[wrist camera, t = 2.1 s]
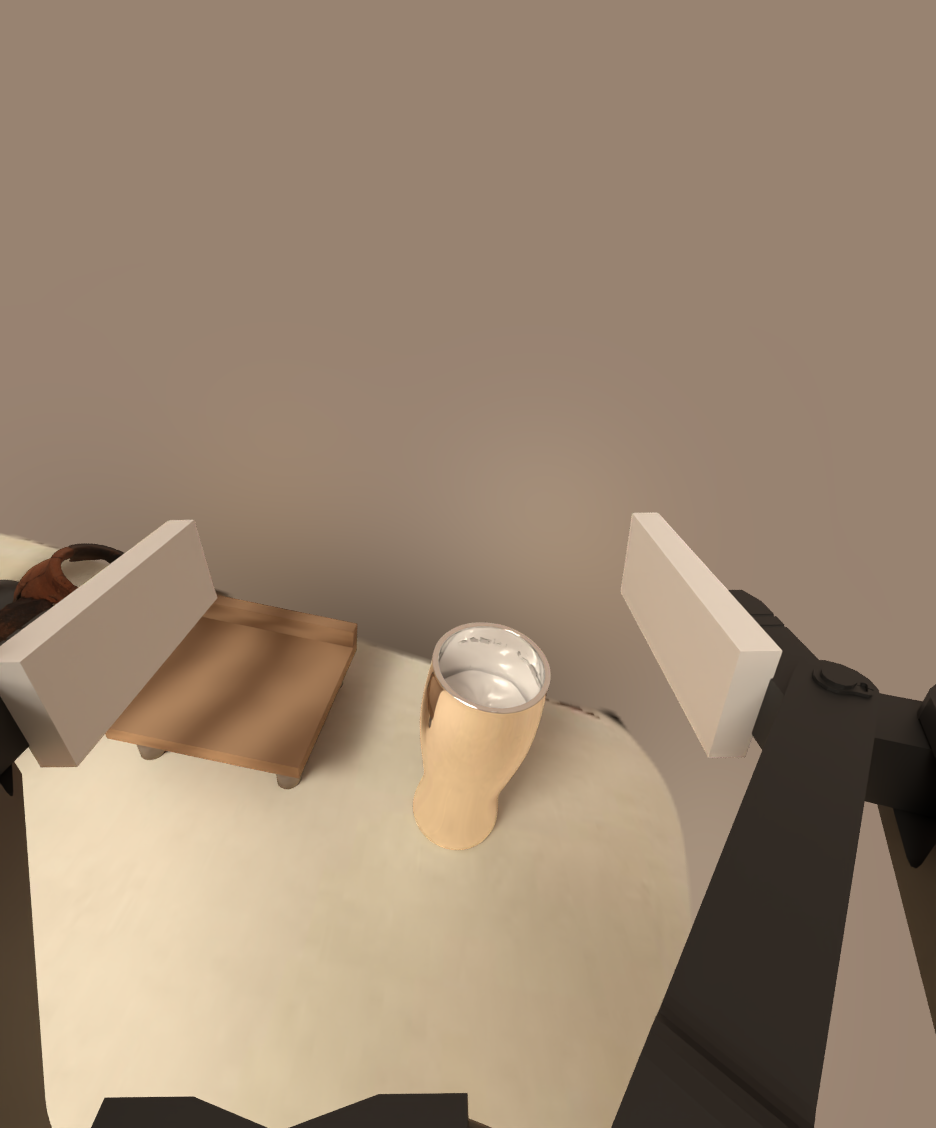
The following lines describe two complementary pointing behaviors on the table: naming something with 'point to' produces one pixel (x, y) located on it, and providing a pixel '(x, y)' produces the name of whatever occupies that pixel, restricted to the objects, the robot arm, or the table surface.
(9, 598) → the sundae
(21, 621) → the broken clay pot
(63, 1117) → the table surface
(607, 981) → the table surface
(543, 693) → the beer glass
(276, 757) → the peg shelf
